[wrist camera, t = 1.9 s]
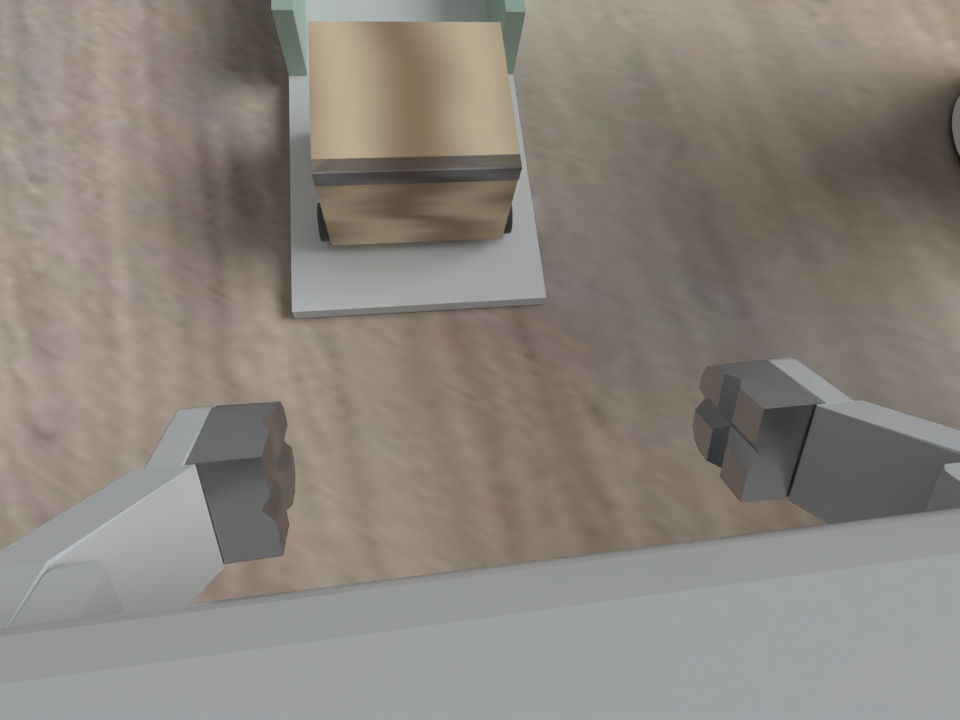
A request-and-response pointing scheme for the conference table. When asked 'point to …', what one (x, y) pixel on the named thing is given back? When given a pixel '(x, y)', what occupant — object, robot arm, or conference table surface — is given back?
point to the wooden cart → (411, 131)
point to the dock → (409, 265)
